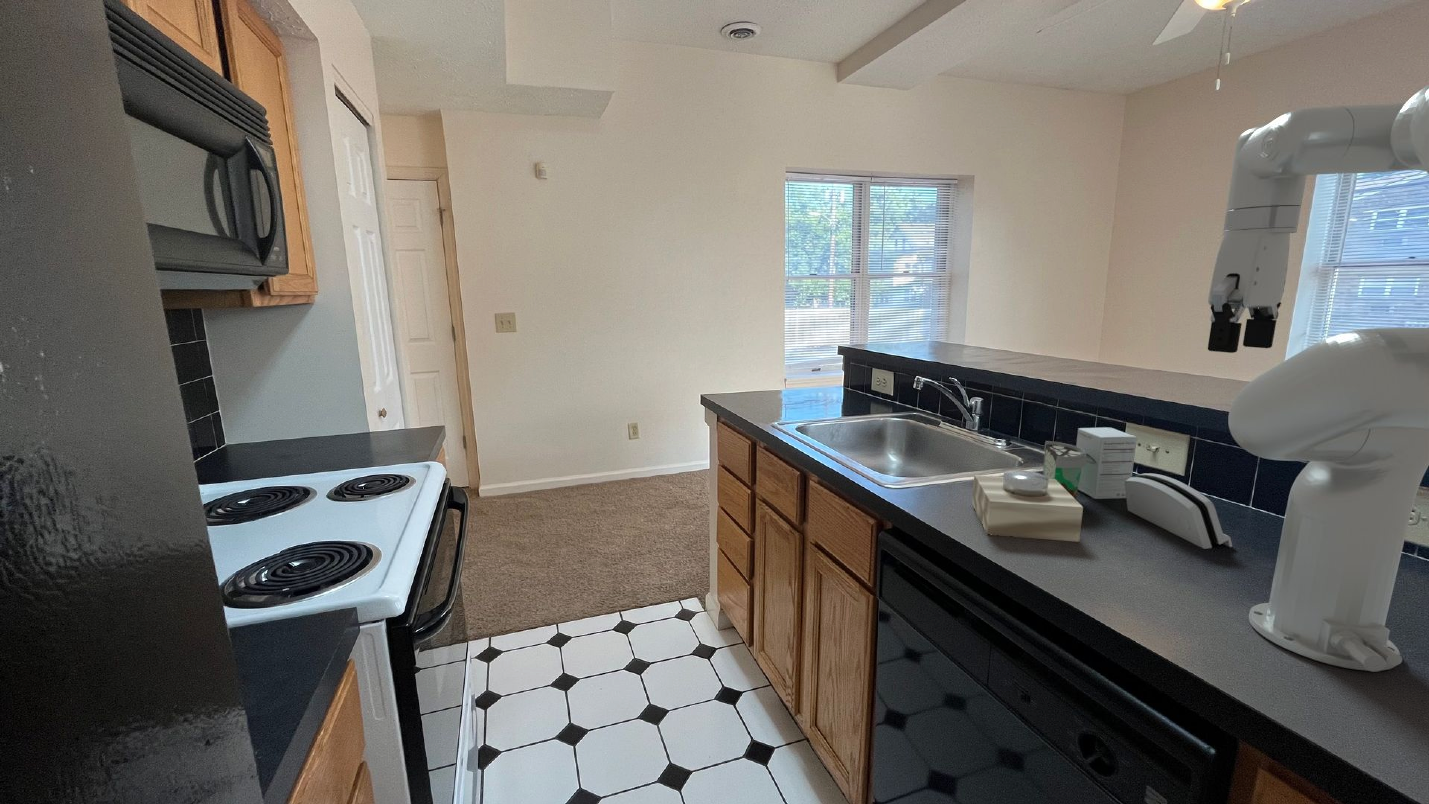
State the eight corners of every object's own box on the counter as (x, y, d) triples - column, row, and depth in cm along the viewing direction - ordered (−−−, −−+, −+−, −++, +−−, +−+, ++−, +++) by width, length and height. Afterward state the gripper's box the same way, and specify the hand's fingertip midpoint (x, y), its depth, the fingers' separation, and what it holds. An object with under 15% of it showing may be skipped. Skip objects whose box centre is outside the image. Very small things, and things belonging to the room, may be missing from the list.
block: (1079, 541, 98) (1083, 507, 97) (987, 534, 101) (990, 501, 100) (1052, 510, 112) (1055, 479, 110) (972, 504, 115) (974, 474, 114)
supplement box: (1069, 486, 124) (1076, 427, 121) (1104, 485, 124) (1112, 426, 122) (1093, 499, 117) (1100, 436, 114) (1130, 498, 117) (1138, 435, 114)
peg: (1049, 528, 102) (1054, 484, 101) (1005, 525, 104) (1009, 481, 102) (1037, 513, 109) (1041, 471, 107) (996, 510, 110) (999, 469, 109)
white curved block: (1234, 547, 95) (1223, 492, 93) (1206, 558, 95) (1195, 503, 93) (1152, 508, 112) (1141, 460, 110) (1128, 517, 112) (1117, 470, 110)
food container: (1089, 511, 111) (1095, 459, 109) (1052, 508, 113) (1057, 457, 111) (1074, 489, 122) (1079, 442, 120) (1040, 486, 124) (1045, 440, 122)
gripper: (1257, 227, 88) (1238, 343, 92) (1193, 223, 80) (1176, 350, 84) (1325, 222, 82) (1302, 348, 85) (1264, 218, 74) (1241, 356, 77)
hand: (1239, 349), depth 84 cm, fingers open, 9 cm apart
